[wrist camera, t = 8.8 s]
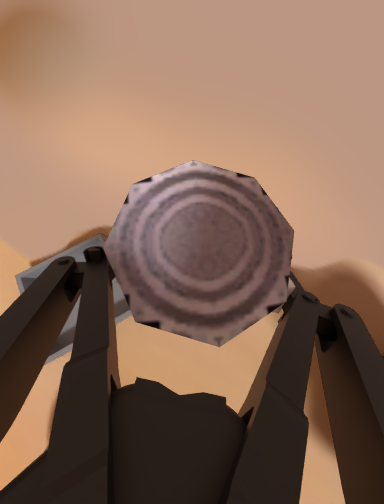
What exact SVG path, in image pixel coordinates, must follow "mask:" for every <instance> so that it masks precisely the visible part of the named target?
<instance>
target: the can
mask: <svg viewBox="0 0 384 504" xmlns="http://www.w3.org/2000/svg"><path fill="white" fill-rule="evenodd" d="M293 237H294V230H293V229H292V227H291V226H290V225H289V223H288V222H287V221H286V219H285V218H284V217H283V215H282V214H281V212H280V211H279V210H278V208H277V207H276V206H275V204H274V203H273V202H272V200H271V199H270V198H269V197H268V195H267V194H266V192H265V191H264V190H263V188H262V187H261V186H260V184H259V183H258V182H257V180H256V179H255V178H254V177H250V176H247V175H243V174H239V173H236V172H233V171H229V170H225V169H222V168H219V167H215V166H211V165H208V164H205V163H201V162H198V161H194V160H192V161H190V162H187V163H185V164H182V165H180V166H177V167H175V168H172V169H169V170H167V171H165V172H162V173H160V174H157V175H154V176H152V177H150V178H147V179H144V180H142V181H139V182H137V183H134V184H133V185H132V187H131V189H130V191H129V193H128V195H127V198H126V200H125V202H124V204H123V206H122V208H121V210H120V213H119V215H118V217H117V219H116V221H115V223H114V225H113V228H112V230H111V232H110V234H109V236H108V238H107V240H106V242H105V245H104V247H103V249H104V251H105V253H106V256H107V258H108V260H109V262H110V265H111V267H112V269H113V272H114V274H115V276H116V278H117V281H118V283H119V285H120V288H121V290H122V292H123V294H124V297H125V299H126V301H127V304H128V306H129V308H130V310H131V313H132V315H133V317H134V320H135V322H137V323H141V324H144V325H147V326H151V327H154V328H157V329H161V330H164V331H168V332H171V333H174V334H178V335H181V336H184V337H188V338H191V339H194V340H198V341H201V342H204V343H208V344H211V345H214V346H218V347H220V346H222V345H223V344H225V343H226V342H228V341H229V340H231V339H232V338H234V337H235V336H237V335H238V334H240V333H241V332H243V331H244V330H246V329H247V328H249V327H250V326H251V325H253V324H254V323H256V322H257V321H259V320H260V319H262V318H263V317H265V316H266V315H268V314H269V313H271V312H272V311H274V310H275V309H277V308H278V307H280V306H281V305H282V304H284V303H285V302H287V293H288V284H289V274H290V265H291V259H292V246H293Z"/></svg>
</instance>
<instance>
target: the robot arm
mask: <svg viewBox="0 0 384 504" xmlns="http://www.w3.org/2000/svg"><path fill="white" fill-rule="evenodd" d="M83 254H84V257H85V260H86V262H76V260H75V258H74V257H72V256H63V257H59V258H57V259H55V260H54V261H52V262H51V263H50V265H49V266H48V267H47V268H46V269H45V270H44V271H43V272H42V273H41V274H40V275H39V276H38V277H37V278H36V279H35V280H34V281H33V282H32V284H31V285H30V286H29V287H28V288H27V289H26V290H25V291H24V292H23V293H22V294H21V295H20V296H19V297H18V298H17V299H16V300H15V301H14V302H13V304H12V305H11V306H10V307H9V308H8V309H7V310H6V311H5V312H4V313H3V314H2V315H1V316H0V442H1V441H2V439H3V438H4V436H5V435H6V433H7V432H8V430H9V429H10V427H11V425H12V424H13V422H14V420H15V418H16V417H17V415H18V413H19V411H20V410H21V408H22V406H23V404H24V402H25V400H26V398H27V396H28V394H29V392H30V391H31V389H32V387H33V385H34V383H35V381H36V379H37V377H38V375H39V373H40V371H41V369H42V367H43V366H44V364H45V362H46V360H47V358H48V356H49V354H50V352H51V350H52V348H53V346H54V344H55V343H56V341H57V339H58V337H59V335H60V333H61V331H62V329H63V327H64V325H65V323H66V321H67V319H68V318H69V316H70V314H71V312H72V310H73V308H74V306H75V304H76V302H77V300H78V298H79V296H80V295H81V297H80V303H79V309H78V316H77V322H76V329H75V335H74V342H73V348H72V354H71V359H70V361H69V362H67V363H66V364H65V366H64V368H63V372H62V376H61V382H60V387H59V393H58V398H57V403H56V409H55V414H54V420H53V425H52V431H51V436H50V441H49V447H48V449H47V450H46V451H45V452H44V453H42V454H41V455H40V456H39V457H38V458H37V459H36V460H35V461H33V462H32V463H31V464H30V465H29V466H28V467H27V468H26V469H24V470H23V471H22V472H21V473H20V474H19V475H18V476H17V477H16V478H14V479H13V480H12V481H11V482H10V483H9V484H8V485H7V486H5V487H4V488H3V489H2V490H1V491H0V504H299V500H300V492H301V484H302V476H303V468H304V461H305V453H306V445H307V437H308V427H309V422H308V418H307V417H306V416H305V414H304V411H303V410H304V402H305V396H306V390H307V384H308V378H309V371H310V365H311V359H312V353H313V347H314V340H315V346H316V351H317V356H318V362H319V367H320V372H321V378H322V383H323V388H324V394H325V399H326V404H327V410H328V415H329V420H330V426H331V431H332V436H333V442H334V447H335V452H336V458H337V463H338V468H339V474H340V479H341V484H342V489H343V494H344V498H345V503H346V504H384V357H382V356H381V354H380V352H379V350H378V348H377V347H376V345H375V343H374V341H373V339H372V337H371V335H370V334H369V332H368V330H367V328H366V326H365V324H364V322H363V320H362V319H361V317H360V316H359V314H358V313H356V312H355V311H354V310H353V309H351V308H349V307H347V306H345V305H342V304H336V305H334V306H333V307H332V308H331V307H328V306H326V305H323V304H321V303H320V301H319V300H318V298H317V297H315V296H314V295H313V294H311V293H309V292H306V291H305V290H304V289H303V288H302V286H301V285H300V283H299V282H298V281H297V279H296V277H295V276H294V275H293V273H292V272H291V271H290V274H289V284H288V293H287V302H285V303H284V304H282V305H281V306H280V307H278V308H277V309H275V310H274V311H272V312H275V313H279V311H280V310H281V308H282V309H283V311H284V313H283V315H282V316H281V318H280V319H279V321H278V326H277V328H276V330H275V333H274V335H273V337H272V340H271V342H270V344H269V347H268V349H267V351H266V354H265V356H264V358H263V361H262V363H261V365H260V368H259V370H258V372H257V375H256V377H255V379H254V382H253V384H252V386H251V389H250V391H249V393H248V396H247V398H246V400H245V402H244V404H243V406H242V407H241V409H240V411H239V413H238V414H237V413H236V412H235V411H234V410H233V409H232V408H230V407H229V406H227V405H226V397H222V396H217V395H213V394H209V393H204V392H202V393H194V394H186V395H178V394H176V393H175V392H173V391H171V390H170V389H168V388H167V387H165V386H164V385H162V384H160V383H159V382H156V381H151V380H147V379H142V378H138V377H137V378H136V381H135V384H130V385H126V386H124V387H121V384H120V377H119V370H118V356H117V341H116V326H115V311H114V296H113V283H112V280H113V279H114V278H115V279H116V283H118V281H117V278H116V276H115V274H114V272H113V269H112V267H111V265H110V262H109V260H108V258H107V256H106V253H105V251H104V249H103V247H101V246H93V247H89V248H86V249H85V250H84V251H83Z"/></svg>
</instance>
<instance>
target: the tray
mask: <svg viewBox="0 0 384 504" xmlns="http://www.w3.org/2000/svg"><path fill="white" fill-rule="evenodd" d="M107 238H108V237H106V236H105V235H103V234H101V233H99V234H97V235H95V236H93V237H91V238H89V239H87V240H85V241H83V242H81V243H79V244H77V245H75V246H73V247H71V248H69V249H67V250H65V251H63V252H61V253H59V254H57V255H55V256H53V257H51V258H49V259H47V260H45V261H43V262H41V263H39V264H37V265H35V266H33V267H31V268H29V269H27V270H25V271H23V272H21V273H19V274H17V275H15V278H16V281H17V284H18V288H19V291H20V294H22V293H23V292H24V291H25V290H26V289H27V288H28V287H29V286H30V285H31V284H32V282H33V281H34V280H35V279H36V278H37V277H38V276H39V275H40V274H41V273H42V272H43V271H44V270H45V269H46V268H47V267H48V266H49V265H50V263H51V262H52V261H54V260H55V259H57V258H59V257H63V256H72V257H74V258H75V260H76V262H86V260H85V257H84V254H83V251H84V250H85V249H86V248H89V247H93V246H101V247H104V245H105V242H106V240H107ZM112 283H113V296H114V311H115V325H116V324H117V323H119V322H121V321H123V320H124V319H126V318H128V317H129V316H131V315H132V313H131V310H130V308H129V306H128V304H127V301H126V299H125V297H124V294H123V292H122V290H121V288H120V285H119V283H116V279H115V278H114V279H113V280H112ZM80 297H81V295H80V296H79V298H78V300H77V302H76V304H75V306H74V308H73V310H72V312H71V314H70V316H69V318H68V319H67V321H66V323H65V325H64V327H63V329H62V331H61V333H60V335H59V337H58V339H57V341H56V343H55V344H54V346H53V348H52V350H51V352H50V354H49V356H48V358H47V360H46V362H45V364H44V365H46V364H48V363H50V362H51V361H53V360H55V359H57V358H59V357H61V356H63V355H64V354H66V353H68V352H69V351H71V350H72V348H73V342H74V335H75V329H76V322H77V316H78V309H79V303H80Z"/></svg>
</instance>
